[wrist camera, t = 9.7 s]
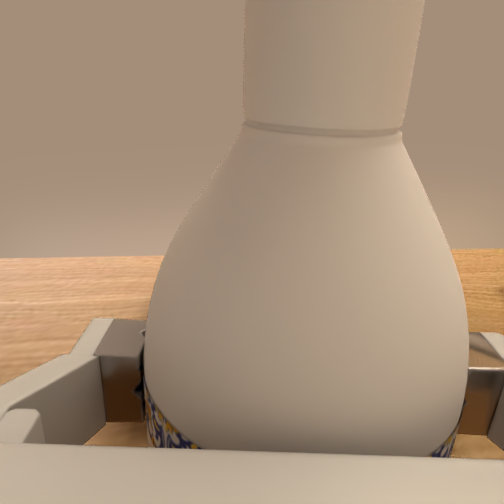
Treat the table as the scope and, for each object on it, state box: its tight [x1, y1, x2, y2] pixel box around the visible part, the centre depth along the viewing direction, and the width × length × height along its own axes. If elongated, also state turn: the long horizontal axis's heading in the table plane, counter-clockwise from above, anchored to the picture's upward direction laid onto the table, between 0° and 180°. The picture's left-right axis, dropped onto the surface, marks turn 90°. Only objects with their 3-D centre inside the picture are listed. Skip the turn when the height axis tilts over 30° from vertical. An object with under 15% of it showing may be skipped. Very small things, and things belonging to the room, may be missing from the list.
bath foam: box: [143, 0, 469, 458], centre depth 10 cm, size 7×7×20 cm
